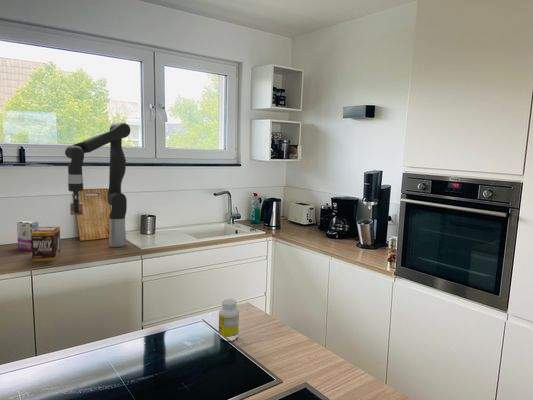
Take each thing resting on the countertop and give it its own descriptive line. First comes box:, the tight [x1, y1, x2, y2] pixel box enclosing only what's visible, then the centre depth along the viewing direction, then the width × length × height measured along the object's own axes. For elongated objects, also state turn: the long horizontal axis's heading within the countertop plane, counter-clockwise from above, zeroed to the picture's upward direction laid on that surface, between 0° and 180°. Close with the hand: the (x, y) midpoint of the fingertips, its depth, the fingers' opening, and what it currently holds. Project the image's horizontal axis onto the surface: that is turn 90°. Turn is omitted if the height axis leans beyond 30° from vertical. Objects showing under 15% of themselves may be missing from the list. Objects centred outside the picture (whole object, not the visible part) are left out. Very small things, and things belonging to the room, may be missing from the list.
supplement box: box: [31, 226, 61, 262], centre depth 214 cm, size 10×15×16 cm
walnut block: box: [69, 202, 84, 216], centre depth 221 cm, size 6×6×6 cm
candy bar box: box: [16, 219, 39, 252], centre depth 228 cm, size 11×5×16 cm, turn 70°
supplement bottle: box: [218, 298, 240, 337], centre depth 133 cm, size 7×7×13 cm
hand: (76, 212), depth 222 cm, fingers closed on walnut block, 6 cm apart
